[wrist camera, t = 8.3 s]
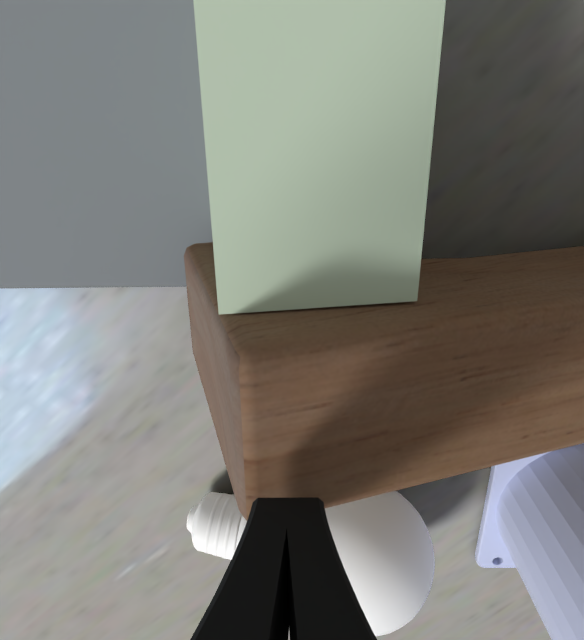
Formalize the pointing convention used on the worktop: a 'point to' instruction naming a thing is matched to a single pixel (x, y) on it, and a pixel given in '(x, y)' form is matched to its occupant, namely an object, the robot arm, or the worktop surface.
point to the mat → (100, 143)
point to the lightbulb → (348, 550)
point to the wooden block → (394, 378)
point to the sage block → (317, 147)
